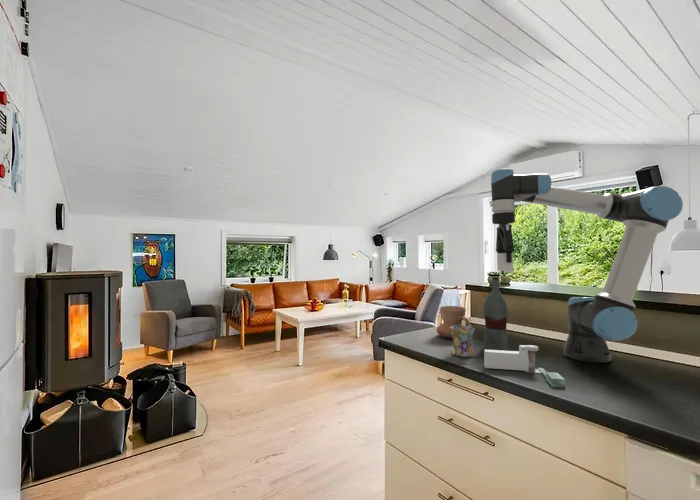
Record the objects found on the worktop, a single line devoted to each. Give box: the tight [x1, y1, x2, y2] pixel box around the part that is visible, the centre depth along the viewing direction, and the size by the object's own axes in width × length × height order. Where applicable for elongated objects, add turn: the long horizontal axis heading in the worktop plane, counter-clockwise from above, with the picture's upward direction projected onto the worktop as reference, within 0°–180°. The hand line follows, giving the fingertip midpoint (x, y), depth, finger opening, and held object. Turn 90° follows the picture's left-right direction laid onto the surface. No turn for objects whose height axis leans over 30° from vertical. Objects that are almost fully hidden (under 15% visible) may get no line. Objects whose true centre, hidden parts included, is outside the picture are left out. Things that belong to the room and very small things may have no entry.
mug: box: [450, 325, 476, 358], centre depth 138 cm, size 12×9×11 cm
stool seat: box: [524, 350, 566, 388], centre depth 119 cm, size 16×28×7 cm, turn 167°
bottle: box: [483, 276, 509, 351], centre depth 146 cm, size 9×9×30 cm
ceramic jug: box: [436, 305, 470, 340], centre depth 166 cm, size 18×14×14 cm
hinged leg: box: [483, 344, 539, 372], centre depth 120 cm, size 17×4×8 cm, turn 77°
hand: (504, 271), depth 126 cm, fingers open, 13 cm apart
